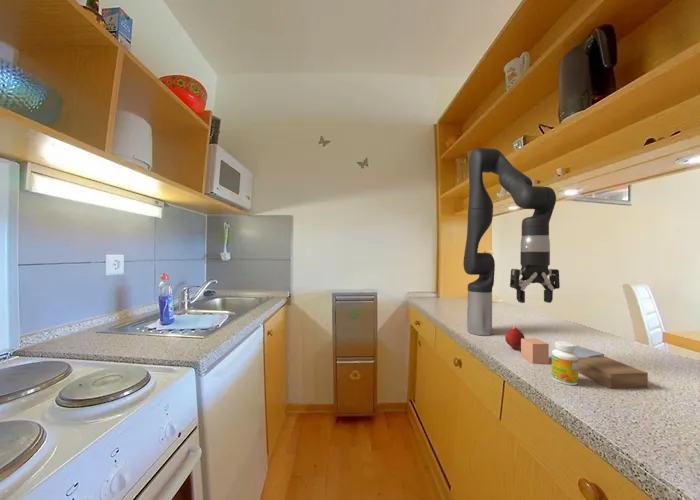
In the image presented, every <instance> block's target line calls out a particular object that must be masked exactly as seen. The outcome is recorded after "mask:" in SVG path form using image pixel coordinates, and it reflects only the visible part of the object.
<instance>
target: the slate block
mask: <svg viewBox="0 0 700 500" xmlns="http://www.w3.org/2000/svg"><path fill="white" fill-rule="evenodd" d="M573 352H574V353H576V354H577V356H578V358H583V357H605V353H602V352H600V351H595V350H592V349H589V348H586V347H583V346H580V345H575V351H573Z"/></svg>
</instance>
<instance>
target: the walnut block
mask: <svg viewBox="0 0 700 500" xmlns="http://www.w3.org/2000/svg"><path fill="white" fill-rule="evenodd" d="M579 374H580V375H582V376H583V377H586V378H588V379H589V380H591V381H594V382H596V383H598V384H600V385H602V386H604V387H606V388H607V389H610V390H613V389H614V390H618V389H621V390H622V389H623V390H624V389H643V388H644V389H645V388H647V389H648V388H649V384H648V383H649V381H648V380H649V373H648V372H646V371H644V370H641V369H639V368H636V367H633V366H631V365H629V364H625V363H623V362H620V361H617V360H615V359H613V358H611V357H607V356H604V357H583V358H578V375H579Z"/></svg>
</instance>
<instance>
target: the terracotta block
mask: <svg viewBox="0 0 700 500" xmlns="http://www.w3.org/2000/svg"><path fill="white" fill-rule="evenodd" d="M549 349H550V345H549V343H548V342H545V341H544V340H540V339H538V338H536V337H535V338H533V337H532V338H531V337H529V338H528V337H527V338H526V337H525V338H523V339H521V347H520V358H522V359H523V360H525V361H527V362H529V363H531V364H533V365H534V364H535V365H537V364H539V365H541V364H545V365H546V364H549V361H550V359H549V357H550V356H549V355H550V354H549V352H550V351H549Z"/></svg>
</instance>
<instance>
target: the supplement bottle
mask: <svg viewBox="0 0 700 500" xmlns="http://www.w3.org/2000/svg"><path fill="white" fill-rule="evenodd" d="M575 346H576V345H575V344H574V343H571V342H568V341H563V340H555V342H554V348H555V349H553V350H552V351H551V378H552V379H553V380H554V381H555V382H558V383H560V384H564V385H566V386H576V385H578V383H579V373H578V356H577V354H576V353H574V352H573V351H575Z"/></svg>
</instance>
